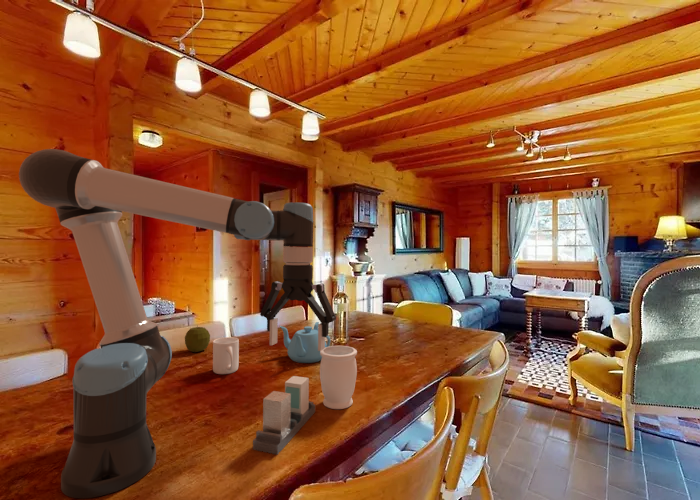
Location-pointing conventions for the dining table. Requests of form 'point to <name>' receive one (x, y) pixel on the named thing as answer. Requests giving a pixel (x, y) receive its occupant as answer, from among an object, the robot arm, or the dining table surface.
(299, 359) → the teapot
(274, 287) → the robot arm
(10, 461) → the dining table surface
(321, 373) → the jar
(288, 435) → the rail
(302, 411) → the block
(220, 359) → the mug
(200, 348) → the olive green ball
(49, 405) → the dining table surface
